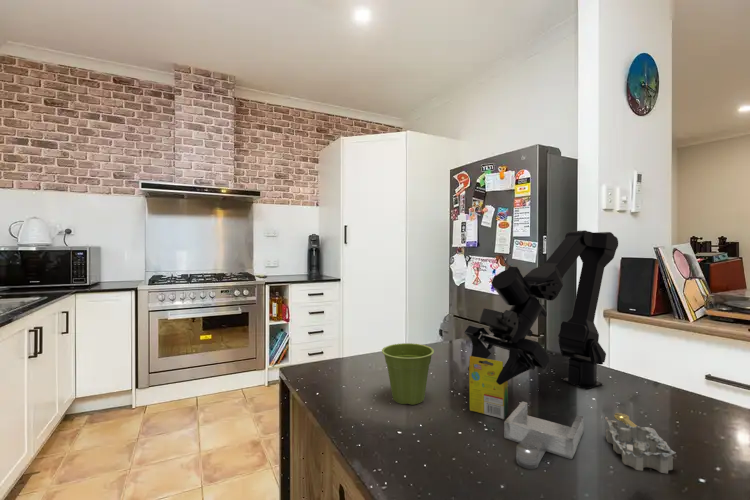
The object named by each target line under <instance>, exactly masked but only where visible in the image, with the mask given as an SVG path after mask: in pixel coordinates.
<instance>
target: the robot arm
mask: <svg viewBox="0 0 750 500" xmlns="http://www.w3.org/2000/svg"><path fill="white" fill-rule="evenodd" d="M618 239H619V238H618V237H617V236H615V235H614V233H613V232H611V231H602V232H597V231H596V232H592V231H588V230H571V231H568V232H567V233H566V234H565V237H564V239H563V241H562V242H561V243H560V244H559V245H558V247H557V248H556V249H555V250H554V252H553V253H552V254H551V255H550V256H549V257H548V258H547V260H546V261H545V262H544V263H543V264H541V265H540V266H537V267H535V268H532V269H531V270H530V271H529V272H527V273H526V274H525V275H524V276H523V275H522V273H521V270H520V269H519V268H518V266H509V267H508V268H507V269H505V270H502V271H501V272H499V273H497V274H496V275H494V277H493V278H492V280H491V286H492V287H493V288H494V290H495V291H496V292H497V294H498V295H499V296H500V298H501V300H503V302H504V303H505V304H506V305H507V306H511V307H510V308H509V310H507V309H506V310H504V311H503V312H502V311H498V310H494V309H488V308H482V311H481V314H480V318H479V320H478V323H479V324H483V325H486V326H488V327H489V328H488V330H489V331H490V332H491V333H492V334H493V335H490V334H489V332H488V331H487V330H486V329H485V327H483V326H479V325H474V324H469V325H468V326H467V328H466V329H465V330H464V334H465V335H466V337H468V339H469V340H470V341H471V343H472V349H471V355H470V356H473V357H479V358H485V359H488V357H490V355H491V354H492V353H491V352H490V350H491V349H492V347H493V346H494V347H498V348H500V349H502V350H503V349H504V350H507V351H508V352H509V355H508V359H507V360H506V362H505V363H504V364H503V369H502V371H501V372H500V374H499V376H498V378H497V380H496V382H497V383H498V384H499V385H501V384H503V383H505V382H506V381H510V380H511V379H513V378H515V377H517V376H518V375H521V374H523V373H525V372H527V371H529V370H532V371H533V370H535V369H536V368H538V369H541V370H545V369H546V368H547V366H548V365H549V362H550V357H549V355H548V353H547V352H546V351H545V349H544V348H543V347H542V345H541V343H540V342H539V341H535V340H532V339H528V338H526V337H527V336H528V337H531V338H532V335H534V332H533V331H532V330H531V329H532V327H533V326H534V324H535V322H536V321H537V319H538V317H542V318H546V317H548V314H547V311H546V306H545V304H542V303H541V302H540V300H544V301H555V299H556V298H558V296H559V295H560V292H561V290H562V289H563V287H564V282H563V277H564V276H565V274H566V273H568V270H569V269H571V267H572V265H573V264H574V263H575V262H576V260H577V259H578V258H580V260H581V263H582V264H581V271H580V274H579V280H578V285H577V289H576V294H575V300H574V304H573V309H572V314H571V317H570V318H569V319H568V320H567V321H565V320H564V321H561V323H560V330H559V333H558V335H557V337H558V339H557V341H558V342H557V343H558V345H559V350H560V353H561V354H560V355H561V356H562V357H567V358H568V365H567V377H565V378H563V380H562V381H563V382H565V383H569V384H571V385H573V386H576V387H579V388H581V389H583V390H589V389H592V388H593V389H594V388H597V387H602V386H603V382H601V381H597V379H598V378H597V376H598V373H597V368H598V365H604V363H605V362H606V357H607V353H606V351H605V350H604V349H603V347H602V345H601V344H600V342H599V338H600V334H599V331H598V329H597V327H596V325H595V318H596V313H597V312H596V311H597V306H598V302H599V297H600V293H601V286H602V281H603V277H604V272H605V267H607V265H609V263H610V262H611V261H612V260H614V258H615V255H616V251H617V249H618V247H619V240H618ZM484 362H485V361H479V363H484ZM467 370H468V372H469V366H468V368H467Z"/></svg>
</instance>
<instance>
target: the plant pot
mask: <svg viewBox="0 0 750 500" xmlns="http://www.w3.org/2000/svg"><path fill="white" fill-rule="evenodd" d="M381 353H382V354H383V355H384V360H385V363H386V368H387V372H388V378H389V384H390V389H391V390H390V391H391V395H392V400H393V401H395V402H396V403H398V404H400V405H406V404H409V405H411V406H412V405H417V404H420V403H422V402H424V400H425V398H426V397H425V396H426V390H427V381H428V377H429V376H428V374H429V370H430V369H429V368H430V364H431V360H432V356H433V355H434V353H435V349H434V348H432V347H430V346H428V345H424V344H420V343H412V342H411V343H410V342H409V343H408V342H406V343H404V342H403V343H394V344H389V345H387V346H384V347H383V348H382V349H381Z"/></svg>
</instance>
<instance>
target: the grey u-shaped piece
mask: <svg viewBox="0 0 750 500" xmlns="http://www.w3.org/2000/svg"><path fill="white" fill-rule="evenodd" d="M504 420H505V421H503V424H504V425H503V426H504V428H503V429H504V432H503V434H504V435H503V438H504V439H505V440H506V439H507V440H509V441H512V442H515V443H518V444H517V445H516V464H517V465H518V466H520V467H522V468H524V469H527V470H535V469H538V467H539V464H540V462H541V460H542V458H543V456H544V455H545V453H546V452H548V453H551V454H552V455H556V456H560V457H562V458H565V459H569V460H573V457H574V456H575V453H576V451H577V450H578V449H577V448H578V447H579V443H580V442H581V438H582V436H583V434H584V416H582V415H578V414H577V415H576V417H575V419H574V421H573V422H572V425H571V426H568V425H565V424H560V423H557V422H554V421H550V420H546V419H543V418H539V417H535V416H531V415H528V402H526V401H521V402H520V403H519V404H518V405H517V407H516V408H515V409H514V410H513V411H512V412H511V413H510V415H508V417H507V418H505V419H504Z"/></svg>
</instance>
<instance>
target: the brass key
mask: <svg viewBox="0 0 750 500" xmlns="http://www.w3.org/2000/svg"><path fill="white" fill-rule="evenodd" d="M614 419H615V420H617V421H619V422H622V423H623V424H624V425H625V426H626V425H627V424H629V425H630V426H631V427H636V426H637V424H635V423H634V422H633V421H632V420H630V416H629V415H627V414H626V413H622V412H615V413H614Z"/></svg>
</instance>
